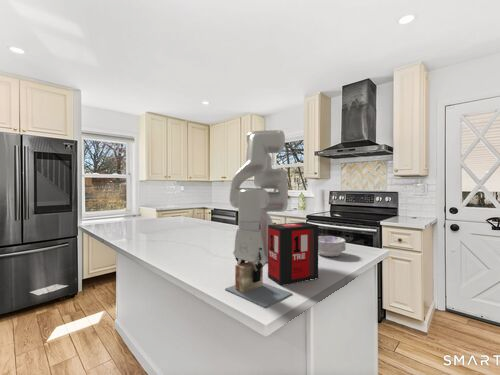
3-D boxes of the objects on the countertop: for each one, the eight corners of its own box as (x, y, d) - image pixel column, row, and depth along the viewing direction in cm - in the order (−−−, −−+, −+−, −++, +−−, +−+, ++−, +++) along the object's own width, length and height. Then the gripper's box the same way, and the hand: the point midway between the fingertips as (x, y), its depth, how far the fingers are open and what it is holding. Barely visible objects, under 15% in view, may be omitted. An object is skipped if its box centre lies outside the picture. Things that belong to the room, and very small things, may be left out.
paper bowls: (313, 257, 127) (313, 241, 127) (313, 249, 141) (313, 235, 141) (347, 259, 123) (347, 242, 123) (343, 251, 138) (343, 236, 138)
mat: (225, 289, 88) (225, 288, 88) (252, 279, 97) (252, 278, 97) (265, 308, 75) (265, 306, 75) (292, 294, 84) (292, 293, 84)
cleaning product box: (303, 271, 107) (303, 222, 106) (318, 278, 99) (318, 225, 98) (267, 277, 100) (268, 224, 99) (280, 285, 92) (280, 228, 91)
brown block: (235, 289, 87) (235, 265, 87) (254, 282, 94) (254, 259, 93) (243, 293, 84) (243, 268, 84) (262, 285, 91) (262, 262, 91)
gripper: (224, 224, 92) (224, 275, 92) (260, 230, 80) (260, 289, 80) (240, 221, 97) (240, 270, 98) (276, 227, 85) (276, 282, 86)
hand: (249, 278), depth 89 cm, fingers open, 6 cm apart
